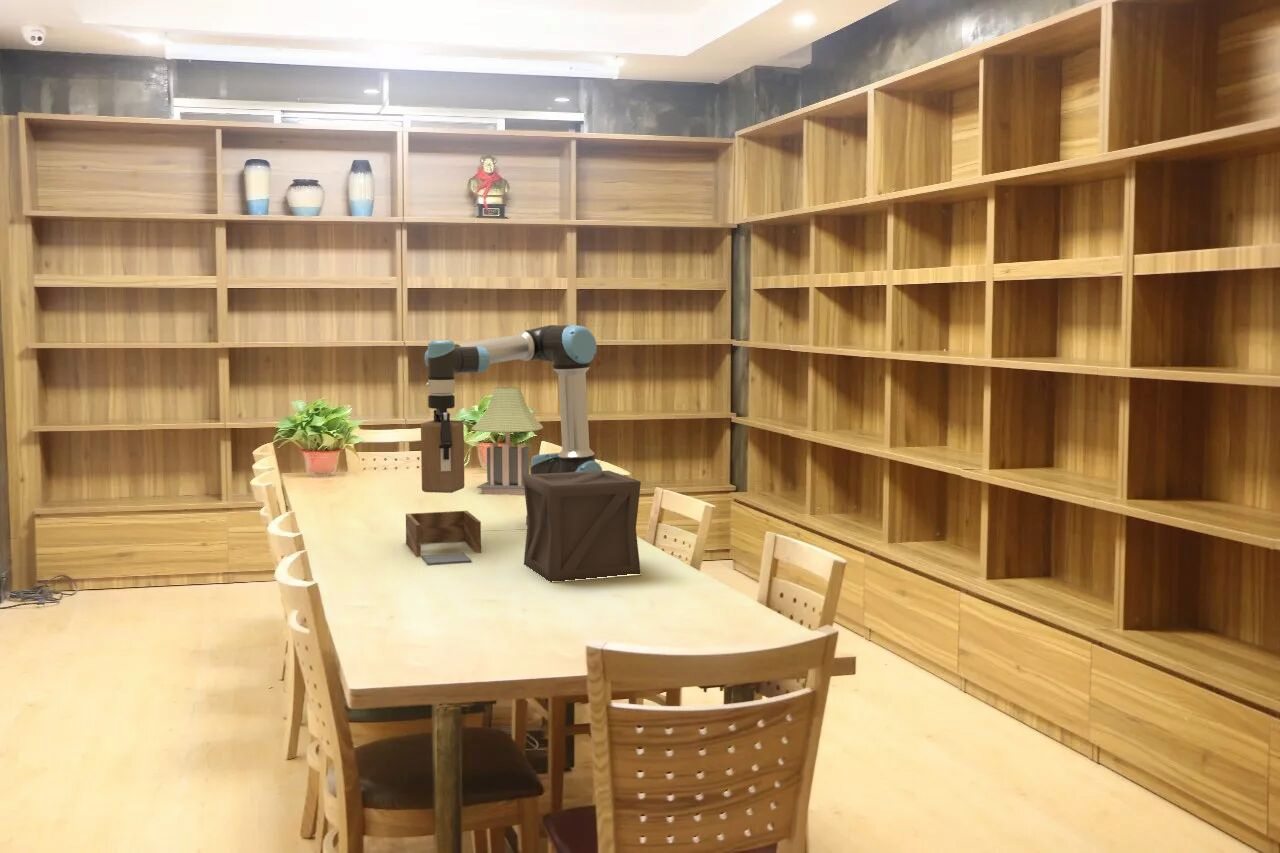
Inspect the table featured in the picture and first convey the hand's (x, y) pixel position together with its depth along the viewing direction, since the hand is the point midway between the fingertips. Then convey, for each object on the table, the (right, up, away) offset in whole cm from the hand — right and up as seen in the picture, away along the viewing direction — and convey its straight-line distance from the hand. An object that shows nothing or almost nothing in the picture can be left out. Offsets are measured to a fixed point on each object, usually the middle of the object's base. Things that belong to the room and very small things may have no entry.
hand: (442, 468), depth 360 cm
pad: (+3, -25, -12) cm, 28 cm away
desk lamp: (+6, -13, +121) cm, 122 cm away
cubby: (-1, -24, +6) cm, 24 cm away
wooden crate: (+41, -27, -25) cm, 55 cm away
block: (0, -7, +1) cm, 7 cm away
